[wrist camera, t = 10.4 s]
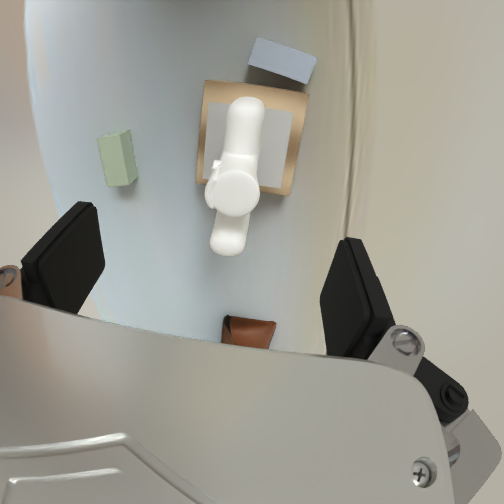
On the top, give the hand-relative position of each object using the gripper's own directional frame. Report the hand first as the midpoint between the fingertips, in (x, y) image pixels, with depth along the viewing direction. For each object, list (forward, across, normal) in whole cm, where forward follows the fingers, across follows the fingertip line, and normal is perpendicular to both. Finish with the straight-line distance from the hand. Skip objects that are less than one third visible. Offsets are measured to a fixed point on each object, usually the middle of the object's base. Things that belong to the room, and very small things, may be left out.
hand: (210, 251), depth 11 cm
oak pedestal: (+24, 0, +1) cm, 24 cm away
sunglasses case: (+24, -4, +37) cm, 44 cm away
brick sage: (+24, +15, +5) cm, 29 cm away
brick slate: (+24, -2, -7) cm, 26 cm away
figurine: (+21, 0, +1) cm, 21 cm away
